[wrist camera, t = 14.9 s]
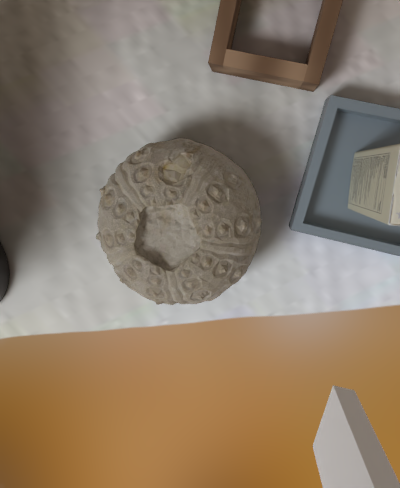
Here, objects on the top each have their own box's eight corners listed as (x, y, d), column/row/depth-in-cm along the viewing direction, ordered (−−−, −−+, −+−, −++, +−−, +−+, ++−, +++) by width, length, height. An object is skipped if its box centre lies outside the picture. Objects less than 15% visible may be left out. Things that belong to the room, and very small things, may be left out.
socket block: (212, 71, 37) (208, 62, 34) (236, -46, 35) (234, -69, 31) (313, 91, 36) (318, 84, 33) (346, -28, 33) (356, -49, 30)
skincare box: (387, 211, 37) (448, 233, 26) (345, 208, 38) (386, 230, 26) (397, 149, 36) (467, 144, 24) (354, 148, 36) (401, 142, 25)
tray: (288, 225, 40) (291, 229, 38) (325, 99, 36) (330, 95, 34) (412, 255, 39) (422, 261, 36) (463, 127, 35) (478, 124, 33)
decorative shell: (102, 157, 42) (56, 156, 32) (248, 127, 38) (246, 115, 29) (134, 294, 45) (101, 330, 36) (270, 278, 42) (275, 313, 32)
